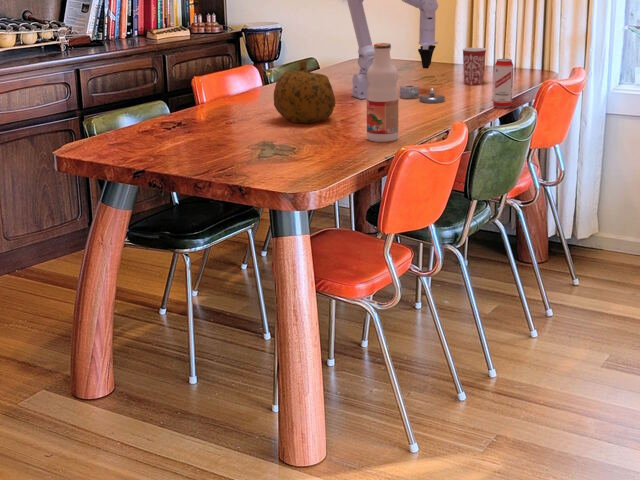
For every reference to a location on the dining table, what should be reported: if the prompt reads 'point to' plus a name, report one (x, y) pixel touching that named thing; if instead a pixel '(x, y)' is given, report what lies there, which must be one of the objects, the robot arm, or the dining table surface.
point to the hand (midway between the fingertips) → (426, 66)
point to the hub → (432, 97)
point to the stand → (409, 98)
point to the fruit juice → (382, 96)
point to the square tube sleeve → (409, 91)
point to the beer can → (503, 83)
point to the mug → (473, 65)
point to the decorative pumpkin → (304, 96)
